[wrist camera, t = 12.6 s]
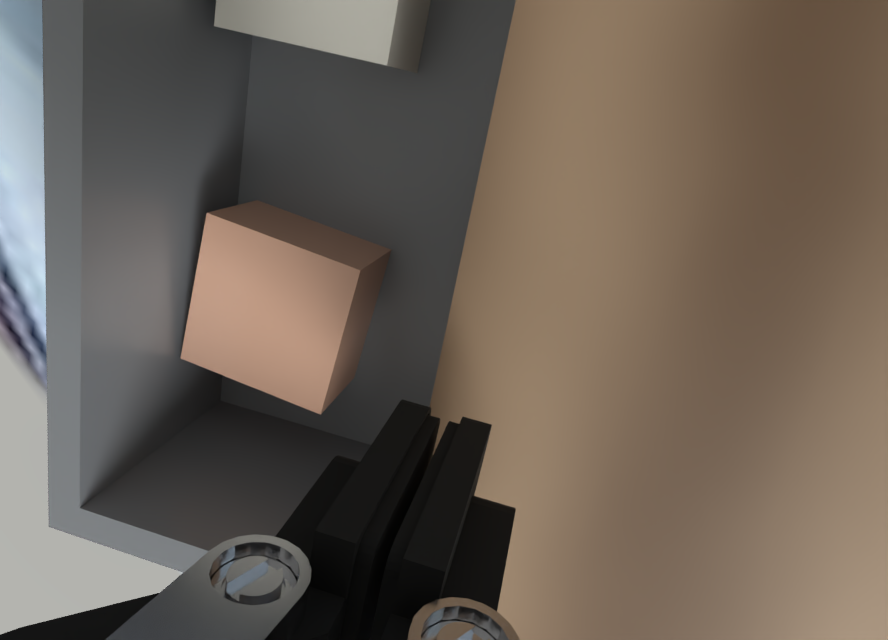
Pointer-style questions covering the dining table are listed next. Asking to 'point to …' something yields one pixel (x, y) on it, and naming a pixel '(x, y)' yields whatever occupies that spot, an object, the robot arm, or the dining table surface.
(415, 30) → the cream block
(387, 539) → the robot arm
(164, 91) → the box
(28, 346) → the dining table surface
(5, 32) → the dining table surface
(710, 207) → the bench plate
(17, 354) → the dining table surface
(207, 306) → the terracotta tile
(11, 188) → the dining table surface
